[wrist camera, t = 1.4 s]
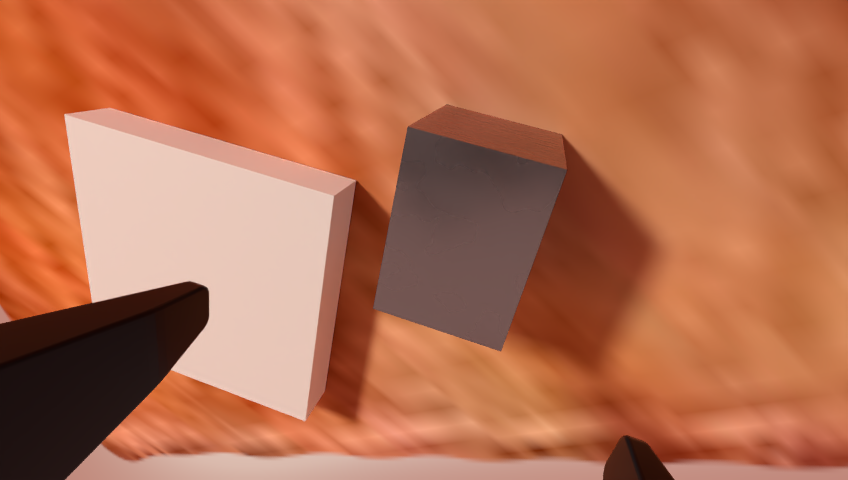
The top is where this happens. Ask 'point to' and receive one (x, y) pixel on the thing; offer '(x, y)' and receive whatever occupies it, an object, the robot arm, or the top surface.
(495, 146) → the block
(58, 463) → the robot arm
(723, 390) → the top surface
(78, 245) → the top surface
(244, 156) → the board
